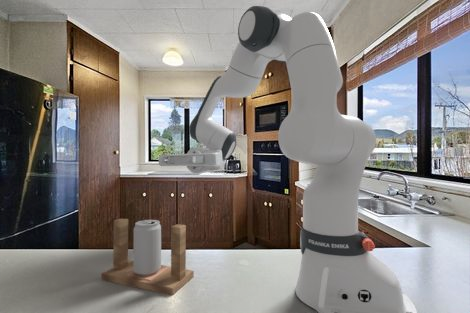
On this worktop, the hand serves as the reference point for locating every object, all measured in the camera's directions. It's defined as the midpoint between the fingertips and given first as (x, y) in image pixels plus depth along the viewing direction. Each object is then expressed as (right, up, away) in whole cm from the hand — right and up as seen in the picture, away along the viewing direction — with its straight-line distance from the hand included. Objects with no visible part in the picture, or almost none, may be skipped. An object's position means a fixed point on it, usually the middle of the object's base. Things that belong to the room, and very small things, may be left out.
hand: (176, 159), depth 73 cm
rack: (-4, -29, -12) cm, 31 cm away
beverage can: (-4, -27, -12) cm, 30 cm away
